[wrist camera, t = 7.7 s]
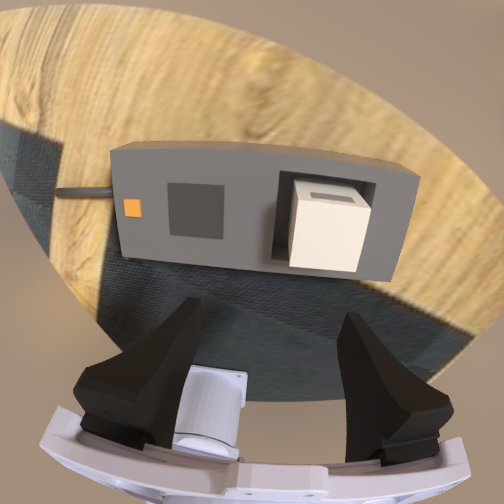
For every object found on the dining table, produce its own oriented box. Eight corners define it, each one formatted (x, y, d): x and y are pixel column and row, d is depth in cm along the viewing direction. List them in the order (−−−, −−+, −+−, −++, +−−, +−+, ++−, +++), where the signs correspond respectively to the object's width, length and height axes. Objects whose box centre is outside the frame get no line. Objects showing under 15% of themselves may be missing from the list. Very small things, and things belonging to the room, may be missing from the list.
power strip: (65, 229, 24) (42, 247, 20) (53, 149, 20) (25, 159, 16) (377, 258, 22) (391, 283, 19) (400, 164, 18) (421, 177, 15)
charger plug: (287, 229, 21) (289, 266, 16) (293, 175, 19) (298, 198, 14) (340, 235, 21) (355, 272, 16) (350, 182, 19) (371, 207, 14)
